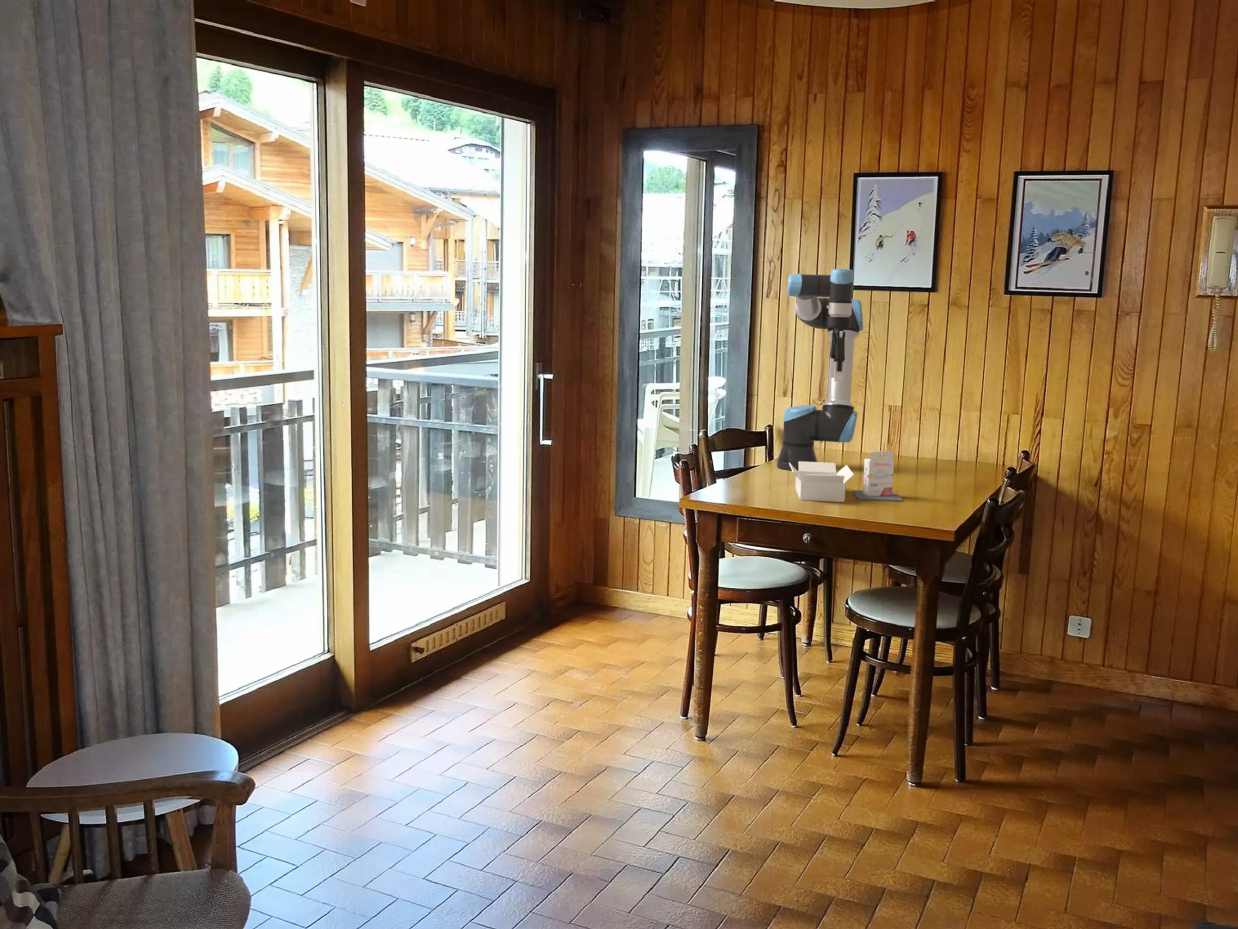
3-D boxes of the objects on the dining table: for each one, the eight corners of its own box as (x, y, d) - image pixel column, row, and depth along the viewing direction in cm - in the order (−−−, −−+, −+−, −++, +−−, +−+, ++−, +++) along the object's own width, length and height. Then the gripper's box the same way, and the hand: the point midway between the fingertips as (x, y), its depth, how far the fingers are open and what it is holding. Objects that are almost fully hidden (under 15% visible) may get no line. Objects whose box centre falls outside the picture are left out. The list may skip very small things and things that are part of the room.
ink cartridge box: (886, 493, 370) (889, 449, 368) (892, 496, 365) (895, 451, 363) (861, 493, 369) (864, 449, 366) (867, 496, 364) (870, 451, 362)
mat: (852, 491, 374) (852, 490, 374) (895, 493, 373) (895, 491, 373) (858, 499, 361) (858, 498, 361) (902, 501, 360) (902, 499, 360)
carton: (786, 486, 380) (788, 460, 379) (844, 489, 379) (845, 463, 377) (792, 501, 355) (793, 473, 354) (854, 503, 354) (855, 476, 352)
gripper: (824, 314, 385) (820, 376, 388) (832, 316, 360) (828, 382, 364) (846, 315, 384) (842, 376, 388) (856, 317, 360) (851, 383, 363)
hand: (835, 379), depth 376 cm, fingers open, 13 cm apart
